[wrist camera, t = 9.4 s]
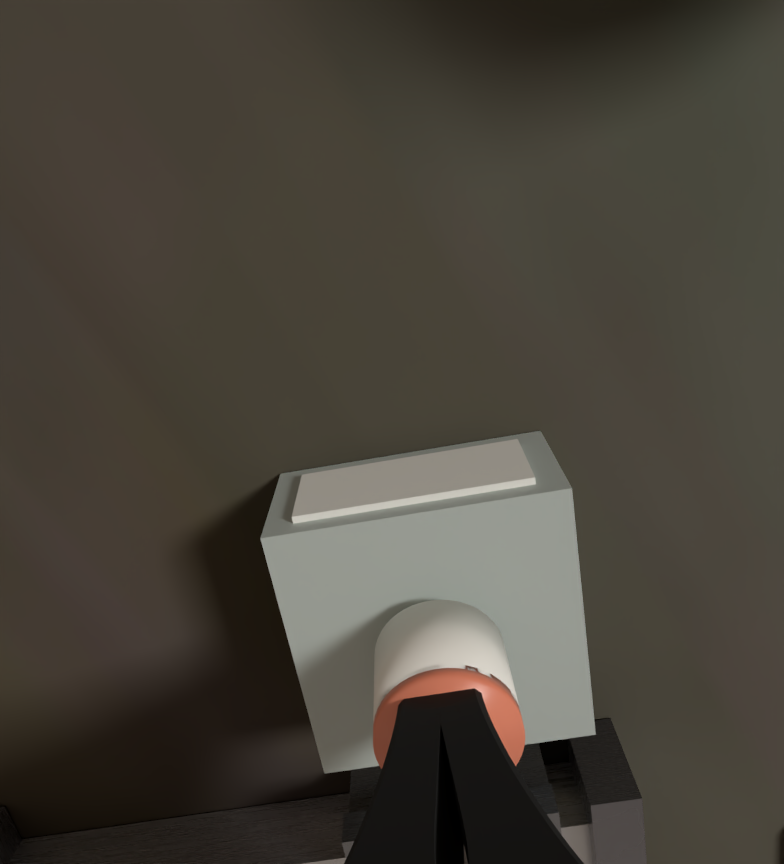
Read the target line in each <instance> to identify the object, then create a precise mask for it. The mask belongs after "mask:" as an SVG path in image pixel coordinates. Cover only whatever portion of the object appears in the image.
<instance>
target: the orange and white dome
mask: <svg viewBox="0 0 784 864" xmlns="http://www.w3.org/2000/svg"><path fill="white" fill-rule="evenodd" d="M473 688H475V689H476V690H478V691H479V692H481V693H482V697H483V700H484V703H485V706H486V709H487V711H488V714H489V716H490V718H491V721H492V723H493V725H494V727H495V729H496V731H497V733H498V735H499V737H500V739H501V741H502V743H503V745H504V747H505V749H506V750H507V752H508V754H509V756H510V758H511V759H512V761H513V763H514V764H515V766H516V765H517V764H518V762H519V760H520V758H521V756H522V753H523V750H524V746H525V729H524V725H523V720H522V716H521V712H520V708H519V704H518V700H517V696H516V691H515V687H514V683H513V679H512V675H511V671H510V667H509V662H508V658H507V654H506V650H505V646H504V642H503V638H502V635H501V633H500V631H499V629H498V628H497V626H496V625H495V623H494V622H493V621H492V620H491V619H490V618H489V617H488V616H487V615H486V614H485V613H483V612H482V611H480V610H479V609H477V608H475V607H473V606H471V605H468V604H465V603H462V602H458V601H452V600H431V601H425V602H421V603H418V604H415V605H412V606H410V607H408V608H406V609H404V610H402V611H401V612H399V613H398V614H396V615H395V616H394V617H393V618H391V619H390V620H389V622H388V623H387V624H386V625H385V626H384V628H383V629H382V631H381V632H380V634H379V636H378V639H377V642H376V646H375V654H374V711H373V749H374V754H375V757H376V760H377V762H378V764H379V766H380V768H381V769H382V767H383V764H384V761H385V758H386V755H387V751H388V748H389V744H390V741H391V737H392V733H393V729H394V725H395V720H396V715H397V709H398V705H399V704H400V702H401V701H402V700H403V699H406V698H413V697H420V696H427V695H433V694H440V693H447V692H453V691H460V690H466V689H473Z"/></svg>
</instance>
